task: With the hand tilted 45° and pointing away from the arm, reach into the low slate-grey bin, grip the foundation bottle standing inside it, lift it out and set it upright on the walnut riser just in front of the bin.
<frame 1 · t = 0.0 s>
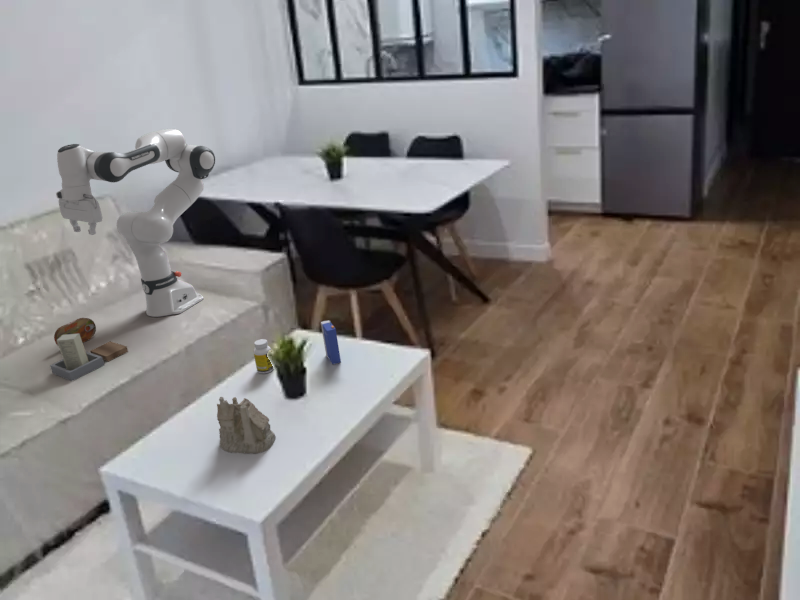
hand: (84, 233, 257), 39 cm above the table, tool pointing down, fingers open, 8 cm apart
skincare box: (78, 369, 248), resting in bin
walkman: (333, 359, 234), on the table
supplement bottle: (266, 370, 232), on the table
tin: (78, 343, 268), on the table
riser: (109, 353, 256), on the table
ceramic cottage: (250, 437, 198), on the table
bin: (78, 369, 248), on the table
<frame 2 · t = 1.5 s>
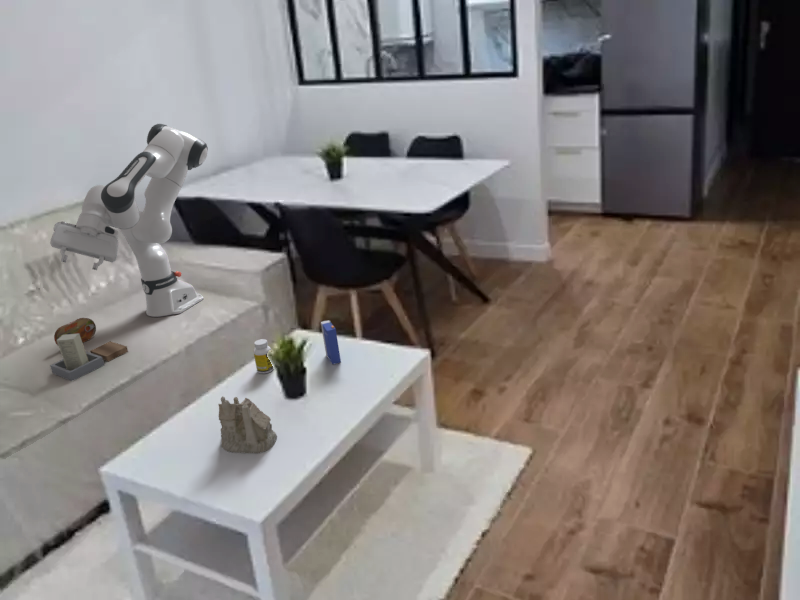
hand: (79, 265, 237), 35 cm above the table, tool tilted 50°, fingers open, 8 cm apart
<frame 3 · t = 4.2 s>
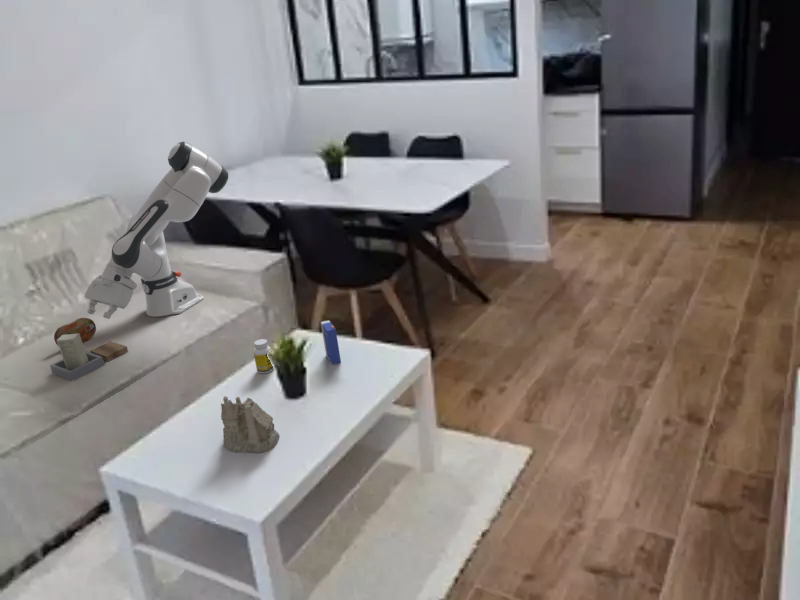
hand: (98, 315, 250), 15 cm above the table, tool tilted 45°, fingers open, 8 cm apart
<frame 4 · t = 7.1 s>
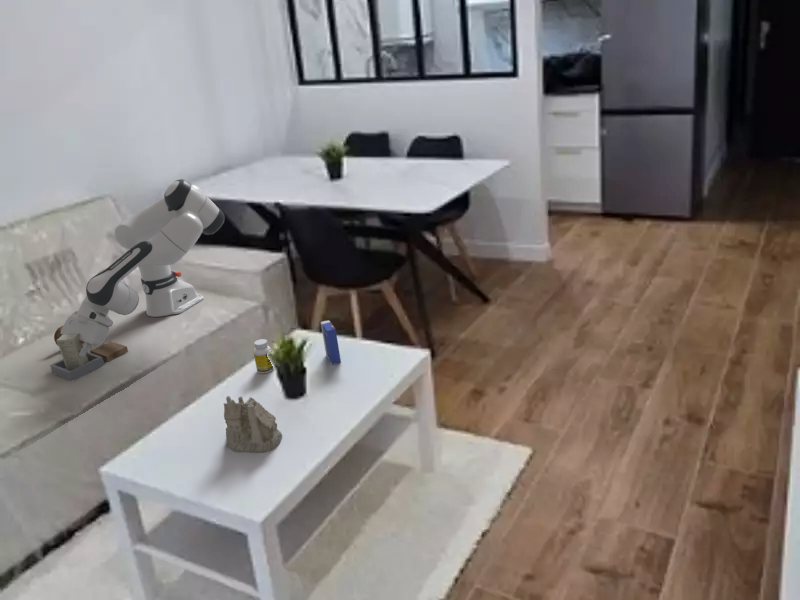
hand: (73, 353, 245), 6 cm above the table, tool tilted 45°, fingers closed on skincare box, 7 cm apart
skincare box: (78, 369, 248), resting in bin, touching gripper
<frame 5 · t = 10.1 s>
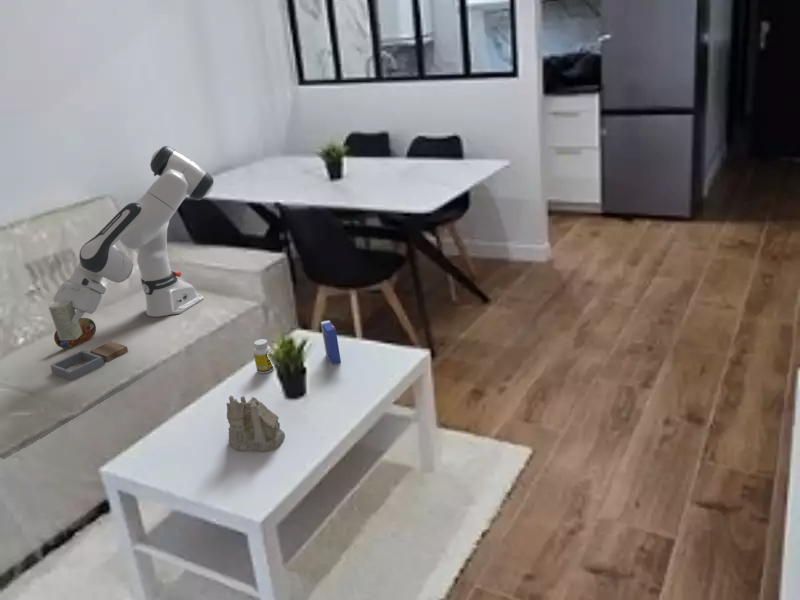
hand: (65, 320, 242), 17 cm above the table, tool tilted 45°, fingers closed on skincare box, 7 cm apart
skincare box: (71, 338, 245), point 11 cm above the table, touching gripper
when the fingers open (9 cm above the table, at t = 13.4 s): skincare box drops 1 cm, resting on riser.
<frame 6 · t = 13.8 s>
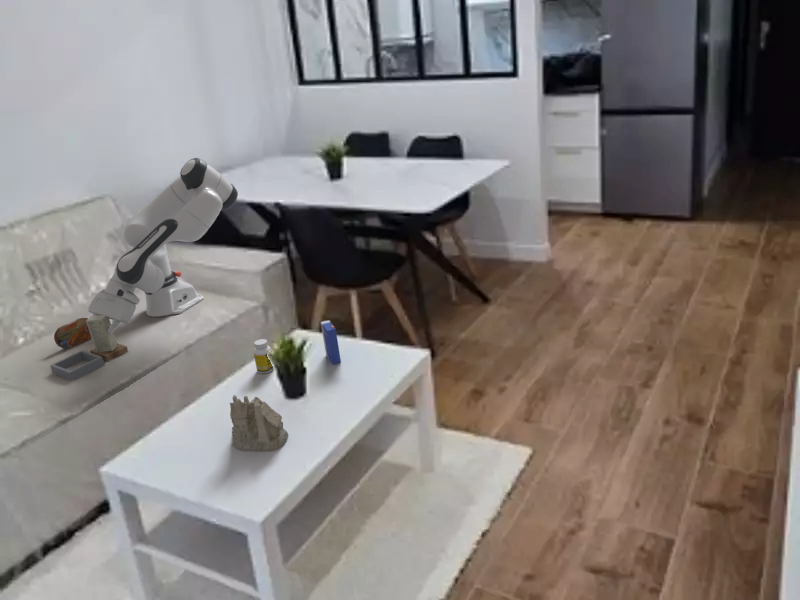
hand: (101, 330, 252), 9 cm above the table, tool tilted 45°, fingers open, 8 cm apart
skincare box: (106, 349, 255), point 2 cm above the table, touching riser
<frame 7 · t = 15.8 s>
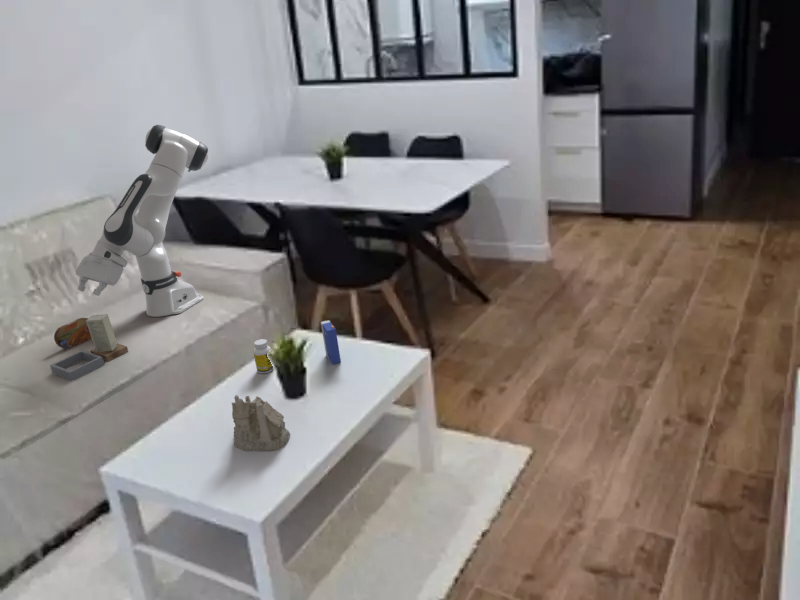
hand: (87, 292, 248), 23 cm above the table, tool tilted 45°, fingers open, 8 cm apart
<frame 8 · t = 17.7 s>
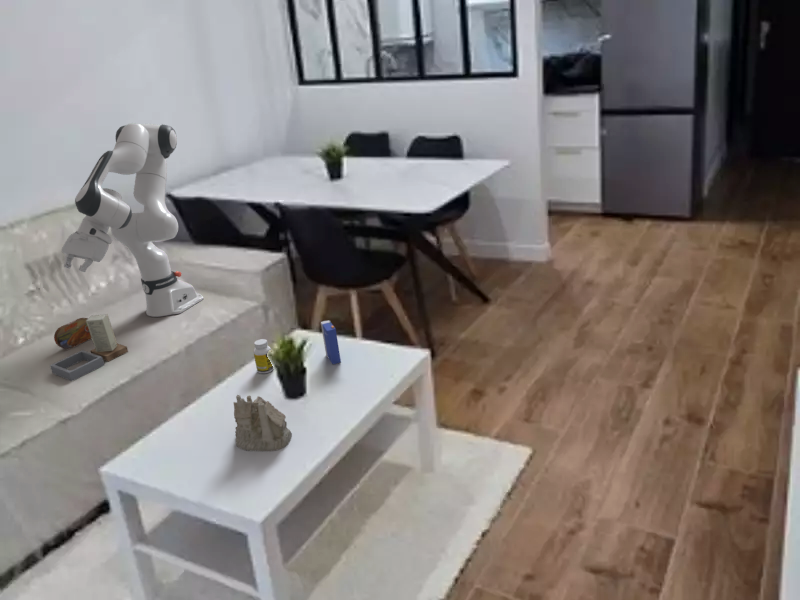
hand: (73, 269, 252), 29 cm above the table, tool tilted 45°, fingers open, 8 cm apart
at the end: skincare box 0.5 cm from the target spot, point 1.8 cm above the table; skincare box tilted 0°; the gripper is holding nothing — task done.
